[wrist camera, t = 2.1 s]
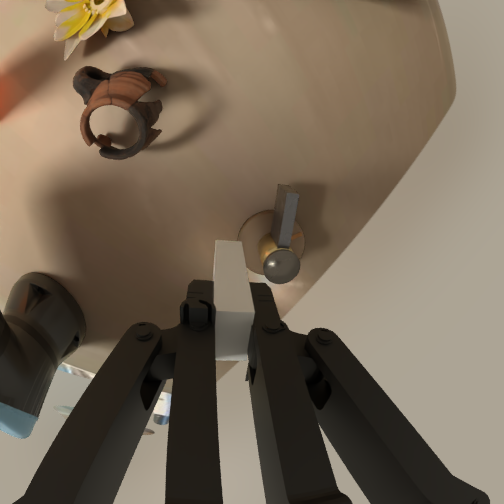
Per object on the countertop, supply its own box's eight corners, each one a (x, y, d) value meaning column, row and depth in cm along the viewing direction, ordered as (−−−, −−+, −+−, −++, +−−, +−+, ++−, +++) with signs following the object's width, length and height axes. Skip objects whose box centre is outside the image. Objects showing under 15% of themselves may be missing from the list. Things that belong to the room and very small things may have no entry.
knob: (285, 261, 33) (296, 284, 28) (254, 259, 32) (260, 283, 28) (299, 186, 29) (314, 198, 25) (265, 182, 29) (275, 193, 24)
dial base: (250, 277, 35) (251, 284, 34) (228, 223, 32) (228, 228, 30) (307, 257, 35) (311, 262, 34) (292, 200, 31) (295, 204, 30)
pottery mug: (193, 88, 25) (174, 121, 20) (148, 140, 31) (126, 182, 26) (111, 35, 18) (69, 56, 13) (77, 96, 24) (40, 131, 19)
